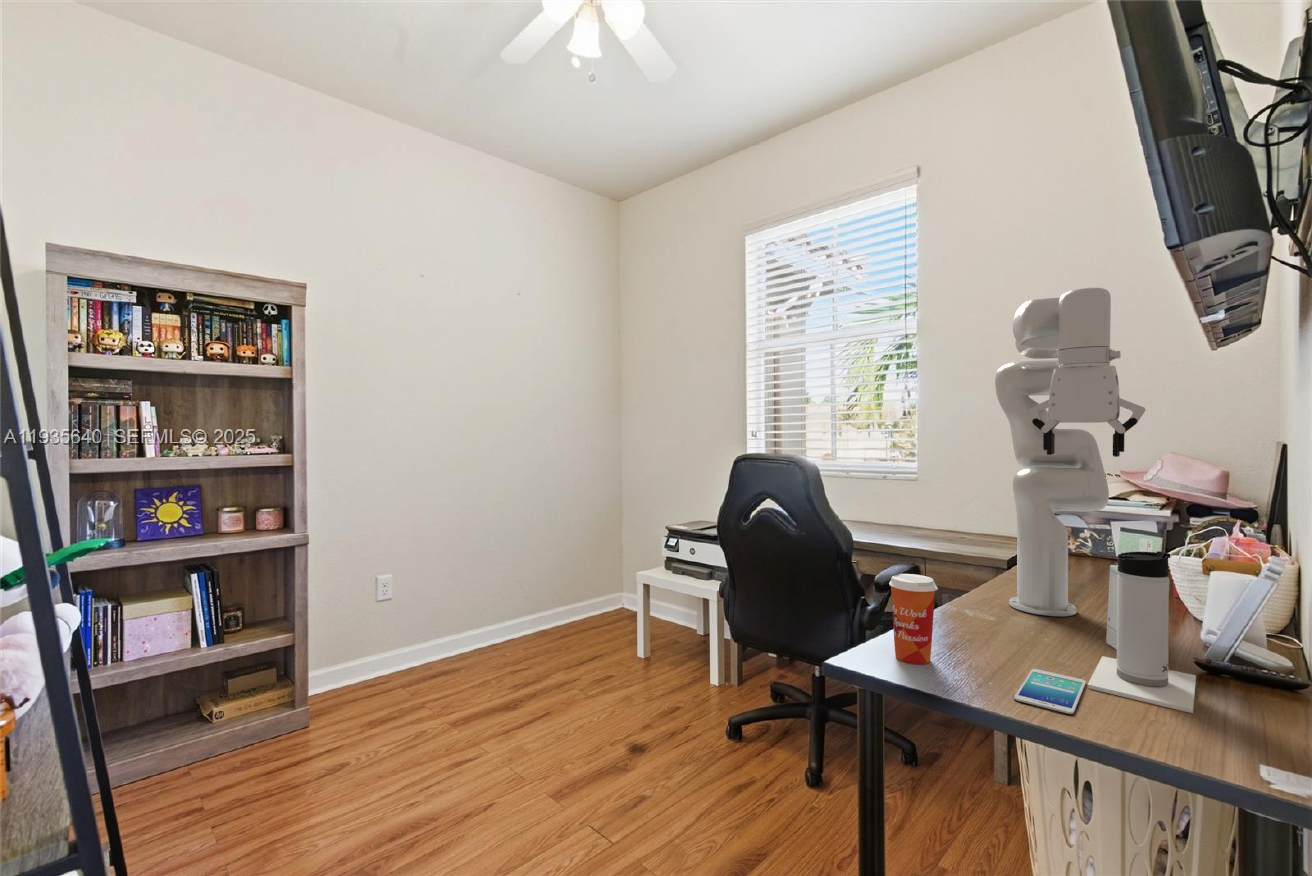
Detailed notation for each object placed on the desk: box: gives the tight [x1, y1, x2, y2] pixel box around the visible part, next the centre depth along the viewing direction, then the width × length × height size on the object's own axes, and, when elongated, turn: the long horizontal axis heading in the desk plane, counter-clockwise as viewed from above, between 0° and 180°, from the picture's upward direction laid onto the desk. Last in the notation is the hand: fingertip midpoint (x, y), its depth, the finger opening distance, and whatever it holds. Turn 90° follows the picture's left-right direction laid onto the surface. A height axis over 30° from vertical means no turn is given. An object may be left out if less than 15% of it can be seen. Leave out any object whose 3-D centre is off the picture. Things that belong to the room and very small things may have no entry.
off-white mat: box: [1087, 655, 1197, 714], centre depth 93 cm, size 16×12×1 cm
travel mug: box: [1116, 551, 1171, 687], centre depth 93 cm, size 6×7×20 cm
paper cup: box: [888, 573, 939, 666], centre depth 103 cm, size 8×8×14 cm
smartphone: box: [1013, 668, 1087, 717], centre depth 90 cm, size 8×1×15 cm
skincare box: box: [1105, 564, 1170, 651], centre depth 106 cm, size 8×6×15 cm
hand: (1082, 455), depth 107 cm, fingers open, 9 cm apart
